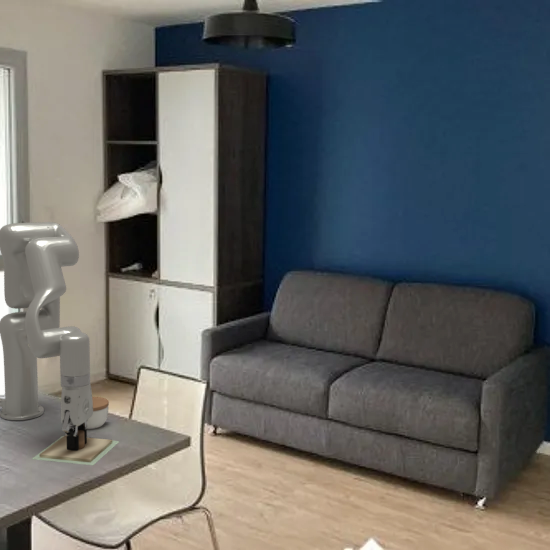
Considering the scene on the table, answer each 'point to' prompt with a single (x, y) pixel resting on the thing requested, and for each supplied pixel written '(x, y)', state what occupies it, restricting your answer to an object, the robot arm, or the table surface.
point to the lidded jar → (98, 413)
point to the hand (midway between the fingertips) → (76, 445)
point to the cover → (83, 454)
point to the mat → (77, 461)
